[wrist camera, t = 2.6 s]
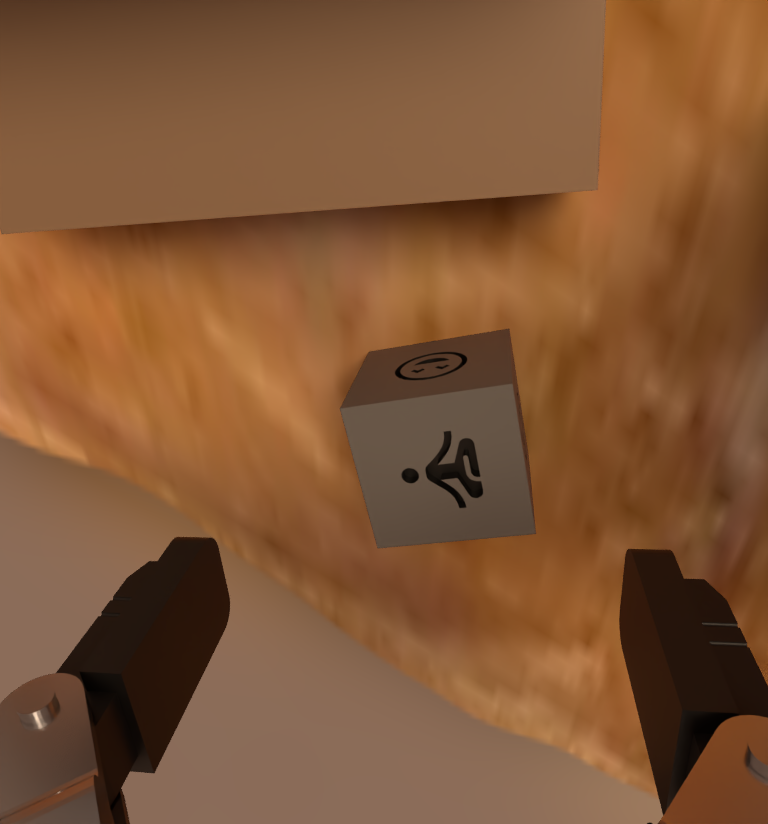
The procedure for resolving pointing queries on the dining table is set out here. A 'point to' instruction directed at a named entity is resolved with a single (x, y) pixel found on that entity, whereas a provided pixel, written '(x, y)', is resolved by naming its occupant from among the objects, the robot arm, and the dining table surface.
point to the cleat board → (290, 106)
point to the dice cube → (441, 441)
